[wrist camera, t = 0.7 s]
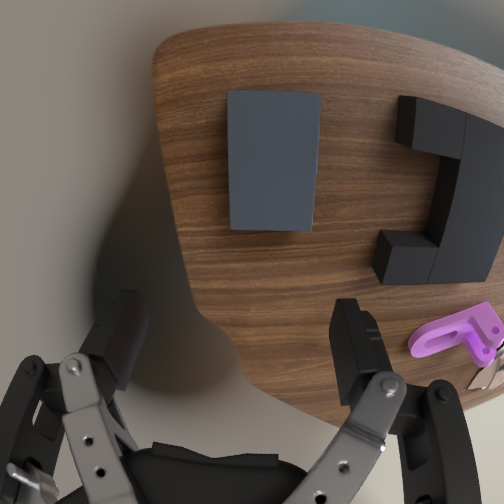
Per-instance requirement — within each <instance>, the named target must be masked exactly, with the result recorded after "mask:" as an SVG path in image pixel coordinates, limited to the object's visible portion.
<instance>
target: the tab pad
mask: <svg viewBox="0 0 504 504" xmlns="http://www.w3.org/2000/svg"><path fill="white" fill-rule="evenodd" d="M320 106H321V94H319V93H307V92H292V91H262V90H243V91H227V141H228V180H229V210H230V230H268V231H307V232H311V230H312V220H313V210H314V199H315V188H316V176H317V162H318V147H319V129H320Z"/></svg>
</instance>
